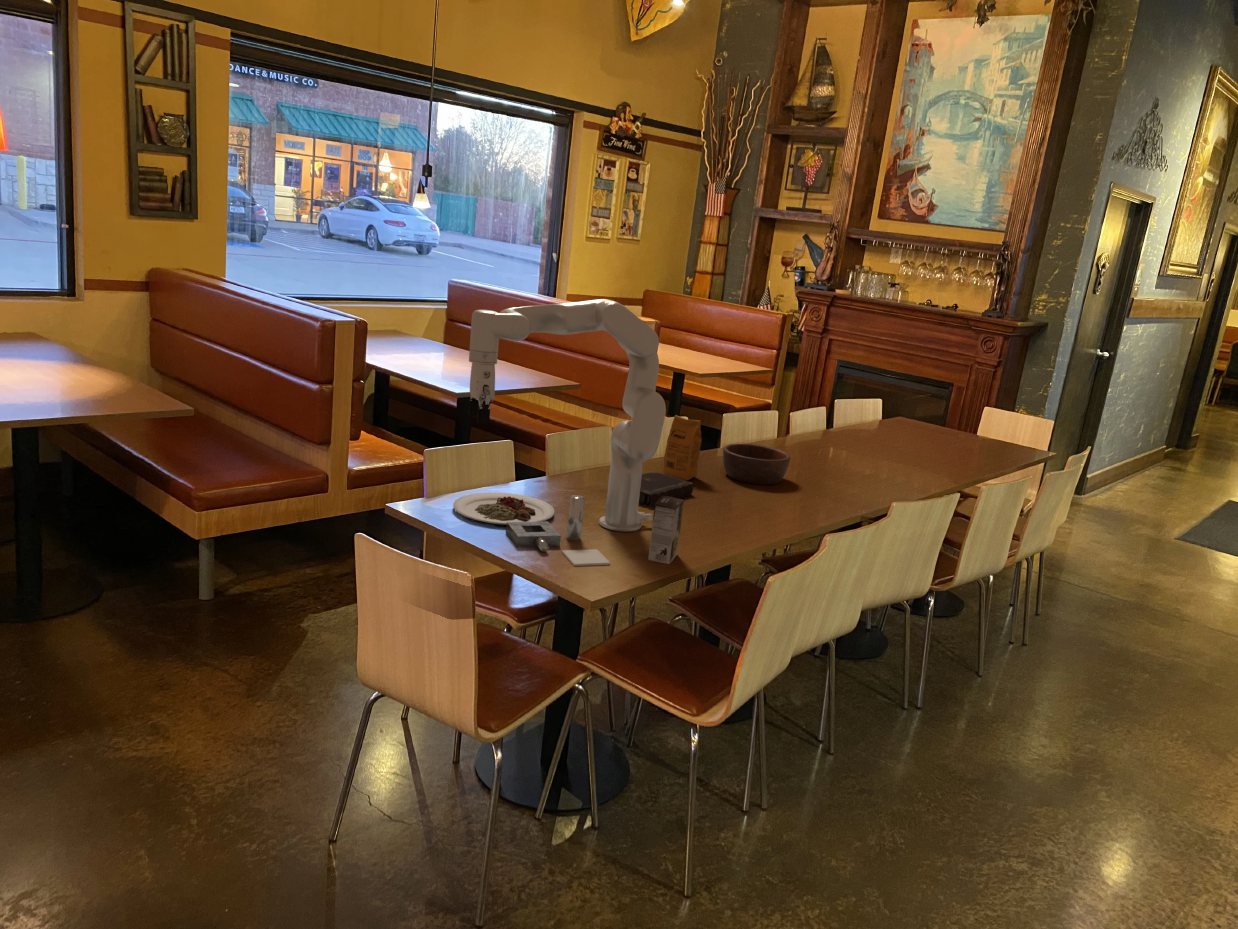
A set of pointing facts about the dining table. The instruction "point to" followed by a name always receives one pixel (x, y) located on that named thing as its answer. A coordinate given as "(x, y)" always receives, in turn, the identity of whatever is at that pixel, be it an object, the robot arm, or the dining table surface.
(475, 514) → the plated food
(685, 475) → the coffee package
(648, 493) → the diary
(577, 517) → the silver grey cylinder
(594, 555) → the pad
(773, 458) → the wooden bowl
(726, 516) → the dining table surface
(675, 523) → the coffee box
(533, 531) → the chuck block
